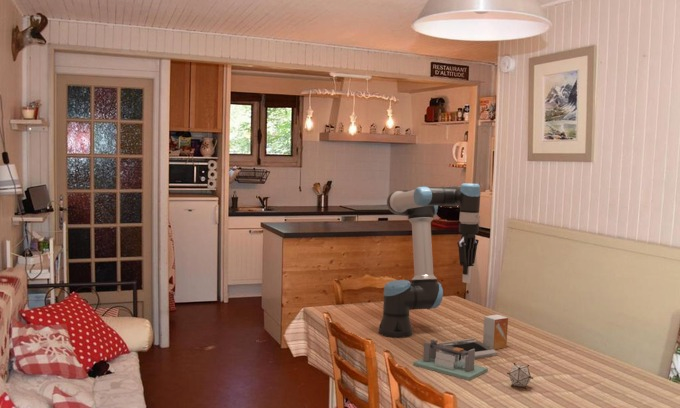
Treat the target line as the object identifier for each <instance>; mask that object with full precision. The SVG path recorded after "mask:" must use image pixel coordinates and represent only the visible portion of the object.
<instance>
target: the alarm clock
mask: <svg viewBox="0 0 680 408" xmlns="http://www.w3.org/2000/svg"><path fill="white" fill-rule="evenodd" d="M439 345H443V346H448V347H452V348H456V347H457V348H462V349H463V350H465V351H469V350H471V349H475V360H479V358H480V359H485V357H487V358H492V357H497V356H498V351H497V350H496V349H495V350H494V349H493V350H492V349H491V348H489V347H488V346H486V345H485V344H483V342H480V341H477V340H475V338H474V337H473V338H464V339H457V340H450V341H442V342H441V341H440V342H439ZM496 355H497V356H496ZM466 356H467V355H466ZM466 356H465V357H466Z"/></svg>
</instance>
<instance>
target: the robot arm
mask: <svg viewBox="0 0 680 408" xmlns="http://www.w3.org/2000/svg"><path fill="white" fill-rule="evenodd" d="M481 195H482V194H481V185H480V184H479V183H468V182H467V183H465V182H464V183H461V185H460V187H459V186H418V187H416V188H415V189H411V190H410V189H409V190H407V189H406V190H405V189H401V190H395V191H393V192H391V193H390V194H389V195H388V196H387V199H386V205H387V208H388V210H389V211H390V212H391V213H392V214H395V215H397V216H403V217H404V216H405V217H407V219H408V221H409V222H410V224H411V231H412V232H411V234H412V236H411V237H412V252H413V271H414V275H413V277H412V278H411V280H410V281H409V280H407V279H402V280H401V279H396V280H391V281H388V282H386V283H385V285H384V286H383V287H384V288H383V304H382V305H383V311H382V317H381V321H380V323H379V326H378V334H379V335H381V336H385V337H390V338H399V339H400V338H408V337H411V336H412V335H413V331H414V329H413V327H412V326H413V325H412V322H411V319H410V310H412V311H413V310H431V309H432V310H433V309H438V307H439V306H441V304H442V302H443V298H444V289H443V285H442V284H441V283H440V282H439V281H438V278H437V277H436V276H435V275H434V259H433V246H432V242H433V241H432V229H431V228H432V225H431V222H433V220H434V217H435V216H436V215H437V213H438V209H439V206H440V207H442V206H445V207H446V206H448V207H450V206H451V207H452V206H454V207H459V217H458V218H459V219H458V220H459V222H460V223H459V224H458V233H460V234H461V237H460V241H457V243H456V244H457V246H458V256H459V257H458V258H459V265H460V266H461V267H462V283H465V284H471V277H472V276H471V275H472V267H474V266H475V262H476V256H477V255H476V254H477V249H478V245H479V239H477V237H476V234H478V233H479V222H480V206H481Z"/></svg>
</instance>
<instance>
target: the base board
mask: <svg viewBox="0 0 680 408" xmlns="http://www.w3.org/2000/svg"><path fill="white" fill-rule="evenodd" d="M431 343H434V344H438V339H437V340H436V339H433V338H432V339H430V342H428V341H424V342H423V356H422V357H423V358H421V359H418V360H415V361H413V363H412V365H413V366H414V367H419V368H423V369H426V370H429V371H432V372H437V373H440V374H444V375H448V376H452V377H454V378H459V379H463V380H466V381H471V380H473V379H475V378H477V377H479V376H481V375H483V374H485V373H487V372H488V371H489V368H488V367H484V366H481V365H477V364H475V360H476V359H475V349H471V350H469V351H468V355H467V356H466V357H465V365H464V366H462V367H460V368H458V369H455V370H450V369H446V368H442V367H439V366H435V358H436V351H438V349H434V348H430V347H431Z"/></svg>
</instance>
